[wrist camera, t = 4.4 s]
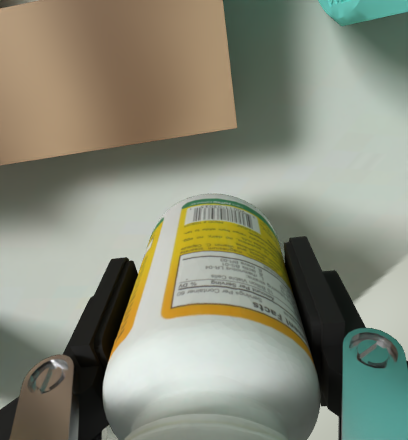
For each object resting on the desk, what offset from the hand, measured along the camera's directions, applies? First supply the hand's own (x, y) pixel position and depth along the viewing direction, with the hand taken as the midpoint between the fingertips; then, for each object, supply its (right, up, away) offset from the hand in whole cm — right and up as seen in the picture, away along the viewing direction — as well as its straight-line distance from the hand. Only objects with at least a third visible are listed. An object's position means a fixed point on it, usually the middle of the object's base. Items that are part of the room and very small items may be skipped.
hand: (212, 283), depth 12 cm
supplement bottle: (0, +1, +2) cm, 3 cm away
